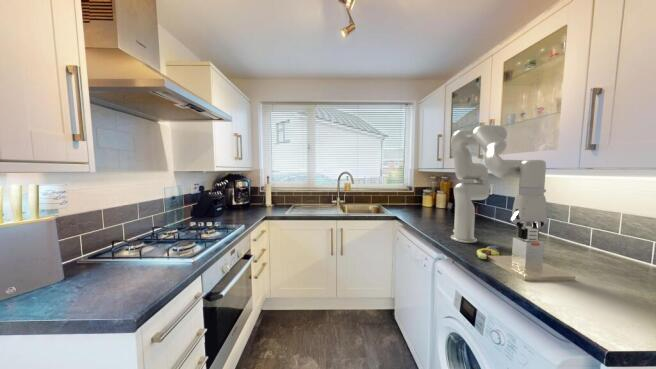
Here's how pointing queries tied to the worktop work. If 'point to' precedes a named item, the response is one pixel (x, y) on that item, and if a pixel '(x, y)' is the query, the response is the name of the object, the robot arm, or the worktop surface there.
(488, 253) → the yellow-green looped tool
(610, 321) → the worktop surface
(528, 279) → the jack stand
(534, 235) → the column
